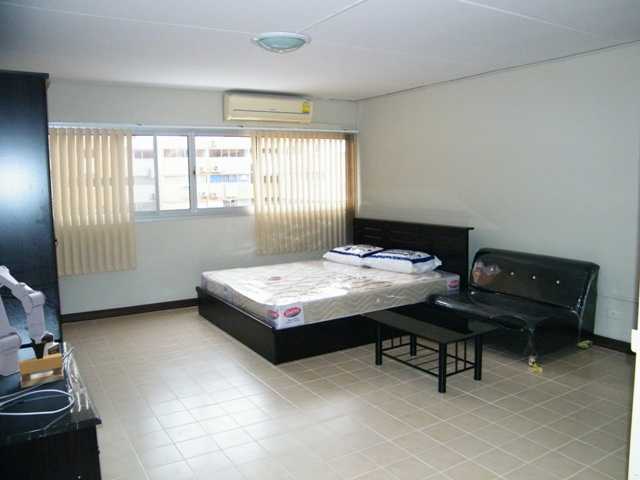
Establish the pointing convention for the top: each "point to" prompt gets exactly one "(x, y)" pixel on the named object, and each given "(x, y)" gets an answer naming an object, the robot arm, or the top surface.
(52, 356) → the amber bar
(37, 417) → the top surface
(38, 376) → the display stand
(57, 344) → the medicine bottle
